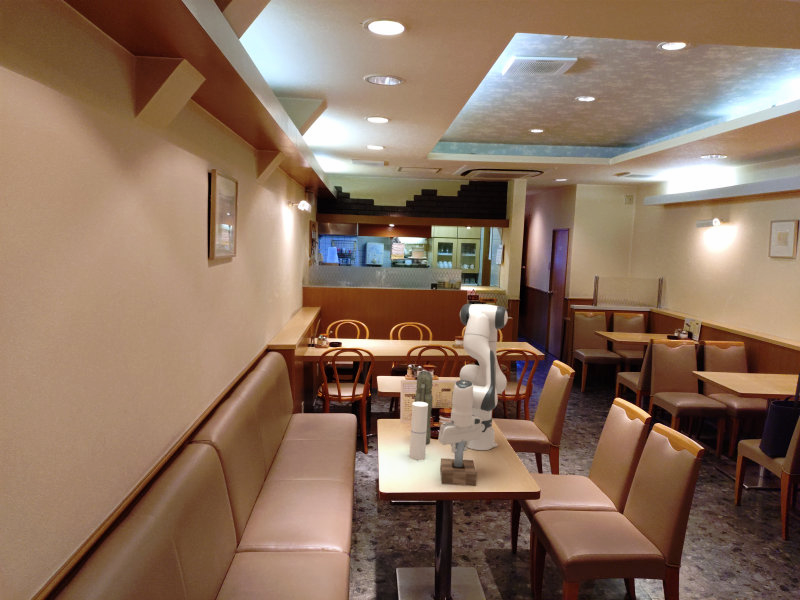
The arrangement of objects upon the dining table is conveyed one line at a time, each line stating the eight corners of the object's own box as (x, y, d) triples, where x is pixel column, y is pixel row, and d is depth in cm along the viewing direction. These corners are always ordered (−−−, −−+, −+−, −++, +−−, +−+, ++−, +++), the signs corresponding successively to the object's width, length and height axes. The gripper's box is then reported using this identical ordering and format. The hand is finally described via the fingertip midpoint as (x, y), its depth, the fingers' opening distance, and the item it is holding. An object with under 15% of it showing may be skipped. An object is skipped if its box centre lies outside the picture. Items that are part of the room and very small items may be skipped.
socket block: (440, 469, 237) (440, 458, 236) (472, 471, 237) (473, 460, 236) (441, 483, 223) (442, 472, 222) (475, 485, 223) (476, 474, 222)
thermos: (411, 445, 262) (415, 374, 258) (412, 436, 274) (416, 368, 270) (430, 446, 262) (434, 376, 258) (430, 437, 274) (434, 370, 270)
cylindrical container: (407, 458, 247) (410, 404, 244) (412, 452, 254) (415, 400, 251) (421, 461, 244) (425, 407, 242) (427, 455, 251) (430, 403, 248)
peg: (452, 463, 230) (454, 436, 229) (461, 463, 231) (463, 436, 230) (455, 467, 227) (457, 439, 226) (463, 467, 228) (465, 439, 226)
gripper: (445, 425, 219) (442, 458, 220) (485, 419, 229) (482, 450, 231) (436, 420, 224) (434, 452, 226) (475, 414, 235) (473, 445, 236)
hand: (459, 451), depth 228 cm, fingers closed on peg, 4 cm apart
